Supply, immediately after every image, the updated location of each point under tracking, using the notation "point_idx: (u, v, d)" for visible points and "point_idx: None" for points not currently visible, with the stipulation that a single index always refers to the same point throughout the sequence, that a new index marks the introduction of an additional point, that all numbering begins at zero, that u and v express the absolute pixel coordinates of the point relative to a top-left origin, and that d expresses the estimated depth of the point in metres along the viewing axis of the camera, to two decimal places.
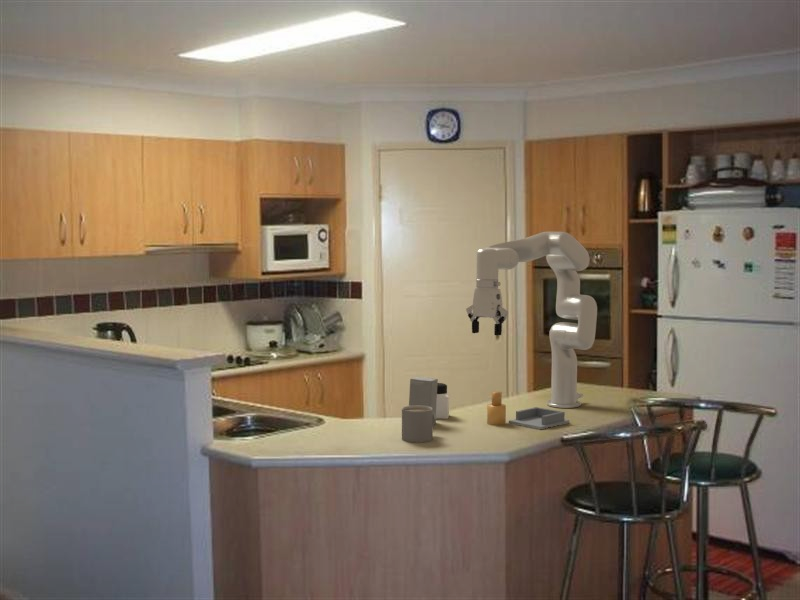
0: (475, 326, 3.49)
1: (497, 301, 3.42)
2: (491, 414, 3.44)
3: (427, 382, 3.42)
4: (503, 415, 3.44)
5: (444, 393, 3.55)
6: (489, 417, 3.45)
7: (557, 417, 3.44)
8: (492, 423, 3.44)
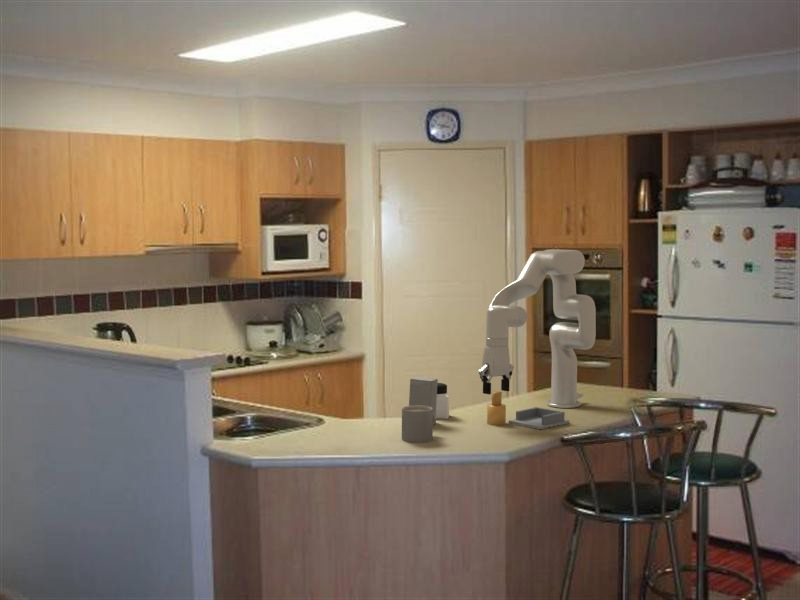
0: None
1: None
2: (491, 414, 3.44)
3: (427, 382, 3.42)
4: (503, 415, 3.44)
5: (444, 393, 3.55)
6: (489, 417, 3.45)
7: (557, 417, 3.44)
8: (492, 423, 3.44)
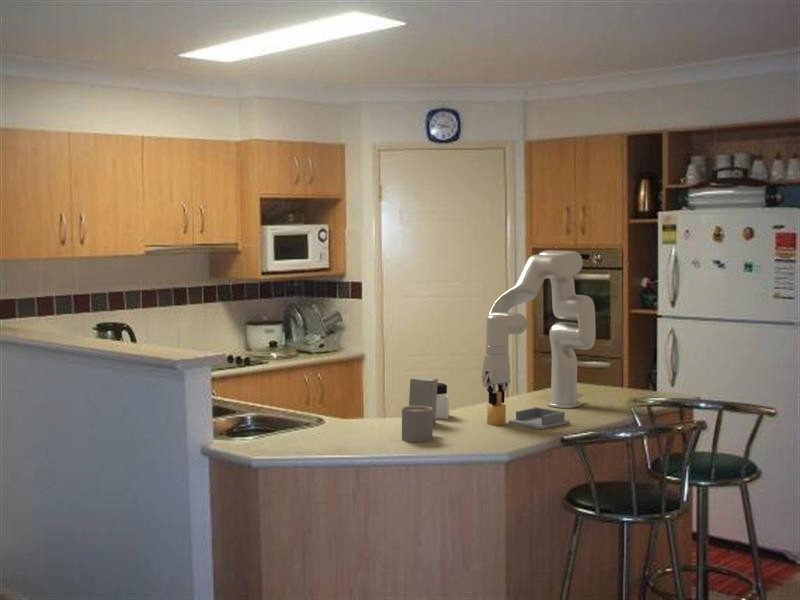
0: None
1: None
2: (491, 414, 3.44)
3: (427, 382, 3.42)
4: (503, 415, 3.44)
5: (444, 393, 3.55)
6: (489, 417, 3.45)
7: (557, 417, 3.44)
8: (492, 423, 3.44)
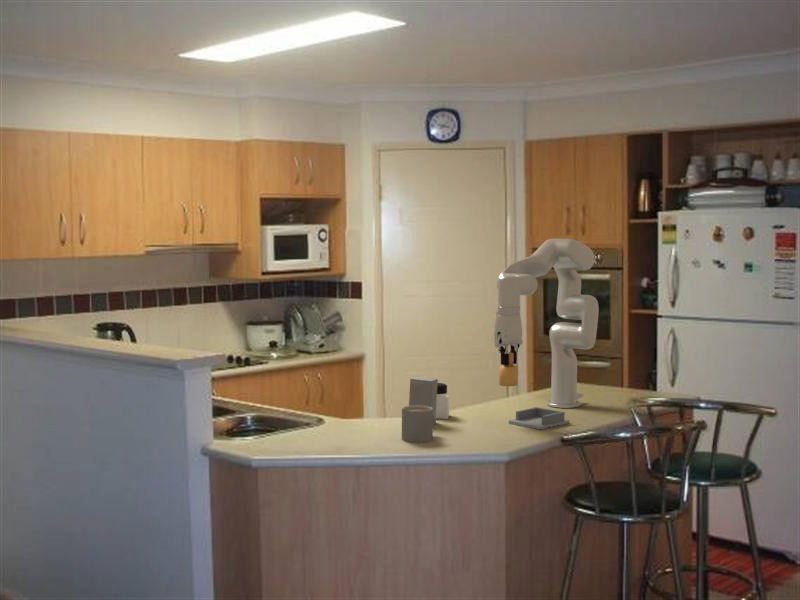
0: None
1: None
2: (503, 375, 3.43)
3: (427, 382, 3.42)
4: (515, 376, 3.43)
5: (444, 393, 3.55)
6: (501, 377, 3.44)
7: (557, 417, 3.44)
8: (504, 384, 3.43)
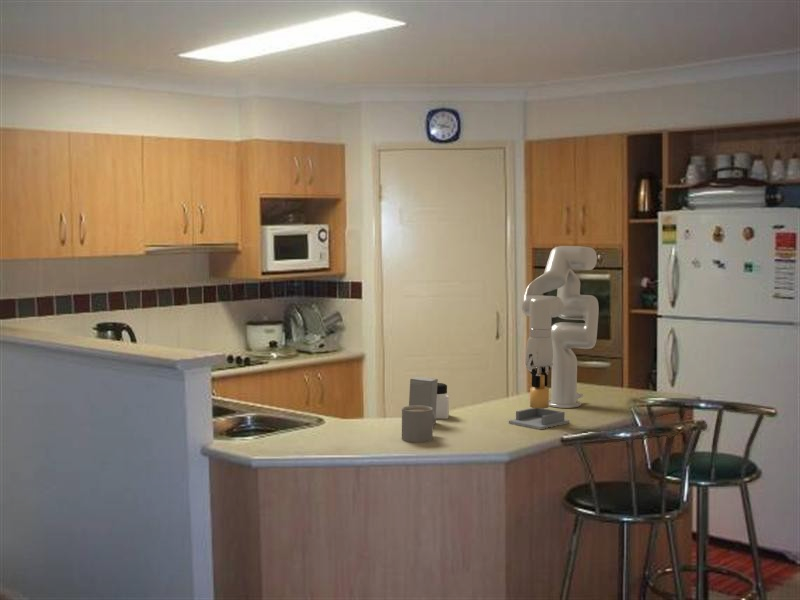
0: None
1: None
2: (535, 397, 3.44)
3: (427, 382, 3.42)
4: (546, 398, 3.44)
5: (444, 393, 3.55)
6: (532, 400, 3.45)
7: (557, 417, 3.44)
8: (535, 406, 3.44)
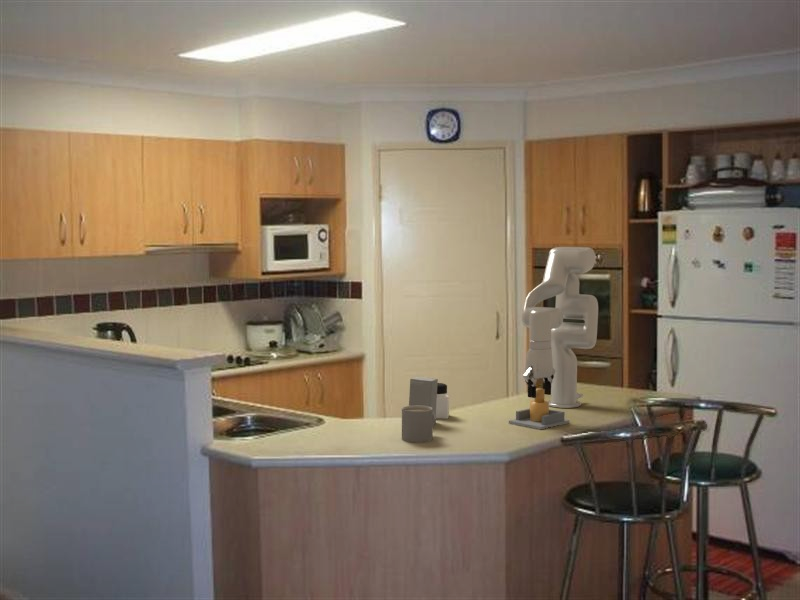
0: None
1: None
2: (535, 411, 3.44)
3: (427, 382, 3.42)
4: (546, 412, 3.45)
5: (444, 393, 3.55)
6: (532, 413, 3.45)
7: (557, 417, 3.44)
8: (535, 420, 3.44)
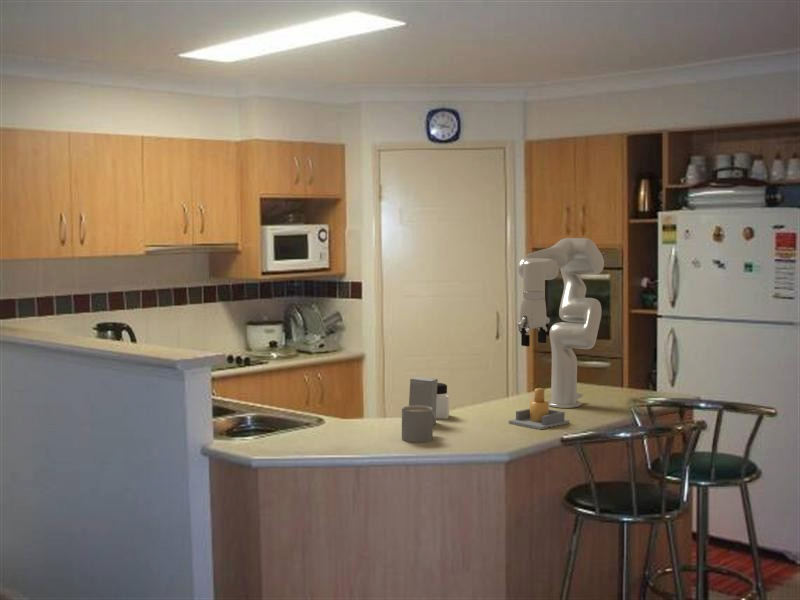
0: None
1: None
2: (534, 411, 3.44)
3: (427, 382, 3.42)
4: (546, 412, 3.45)
5: (444, 393, 3.55)
6: (532, 413, 3.45)
7: (557, 417, 3.44)
8: (535, 420, 3.44)
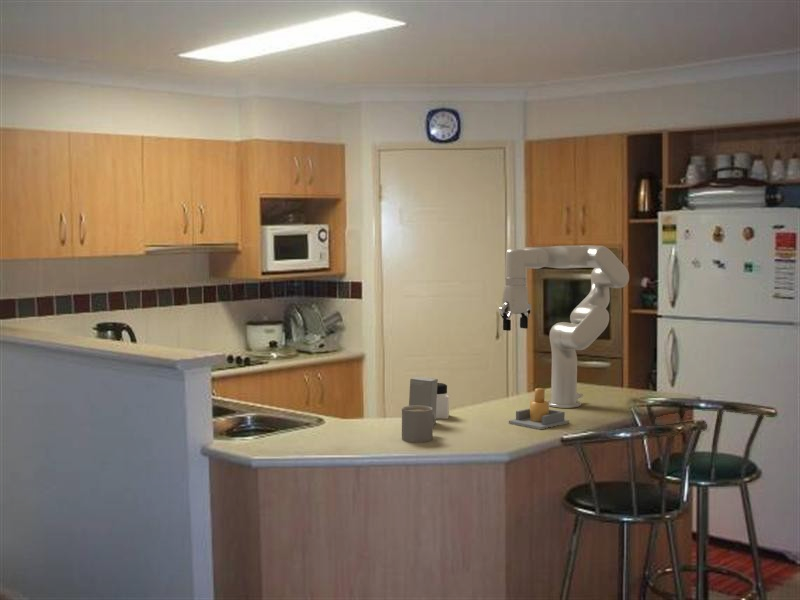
0: None
1: None
2: (534, 411, 3.44)
3: (427, 382, 3.42)
4: (546, 412, 3.45)
5: (444, 393, 3.55)
6: (532, 413, 3.45)
7: (557, 417, 3.44)
8: (535, 420, 3.44)
